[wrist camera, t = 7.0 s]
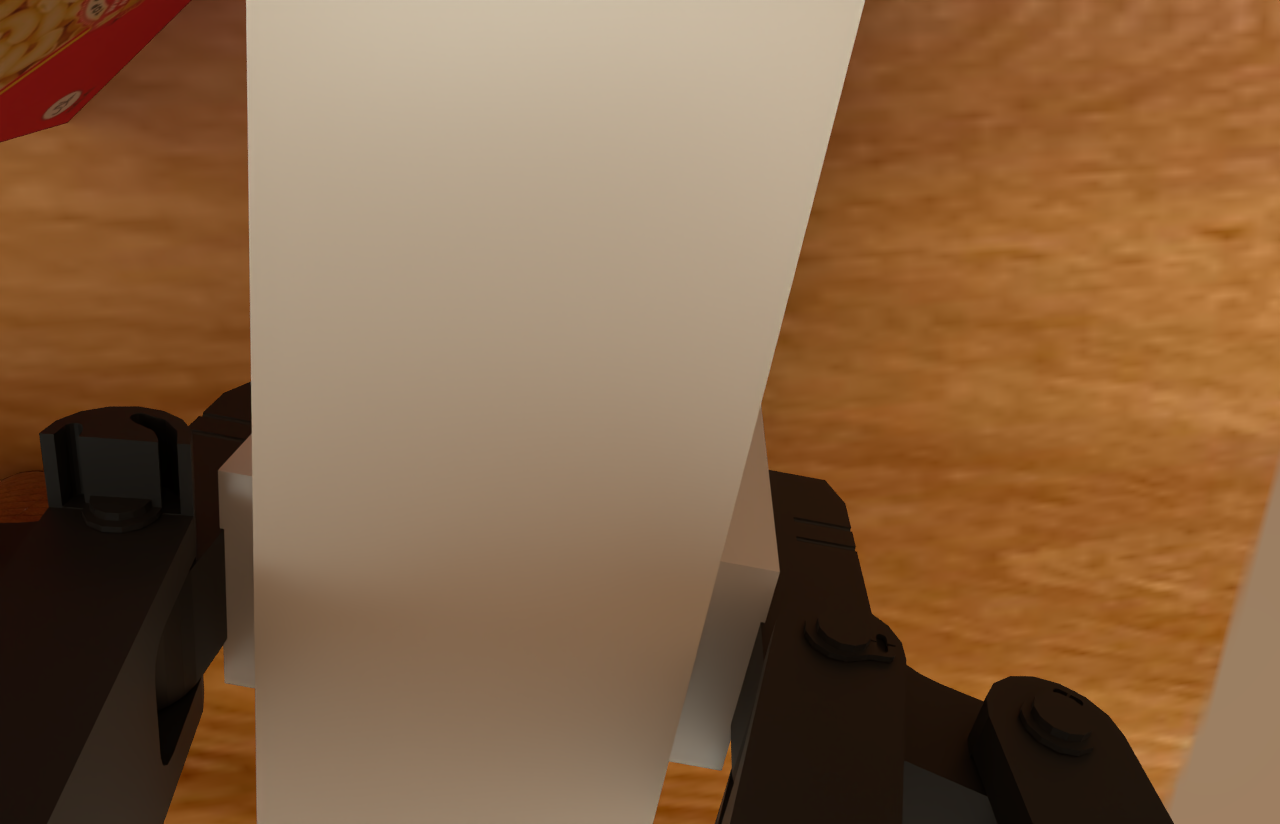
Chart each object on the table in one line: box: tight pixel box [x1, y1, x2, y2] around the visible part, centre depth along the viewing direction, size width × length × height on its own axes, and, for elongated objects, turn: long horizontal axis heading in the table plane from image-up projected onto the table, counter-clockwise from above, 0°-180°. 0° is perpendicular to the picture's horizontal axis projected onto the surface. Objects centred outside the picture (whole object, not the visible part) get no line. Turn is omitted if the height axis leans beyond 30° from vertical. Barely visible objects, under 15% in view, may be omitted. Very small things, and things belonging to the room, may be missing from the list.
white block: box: [246, 0, 865, 824], centre depth 13 cm, size 14×4×10 cm, turn 170°
